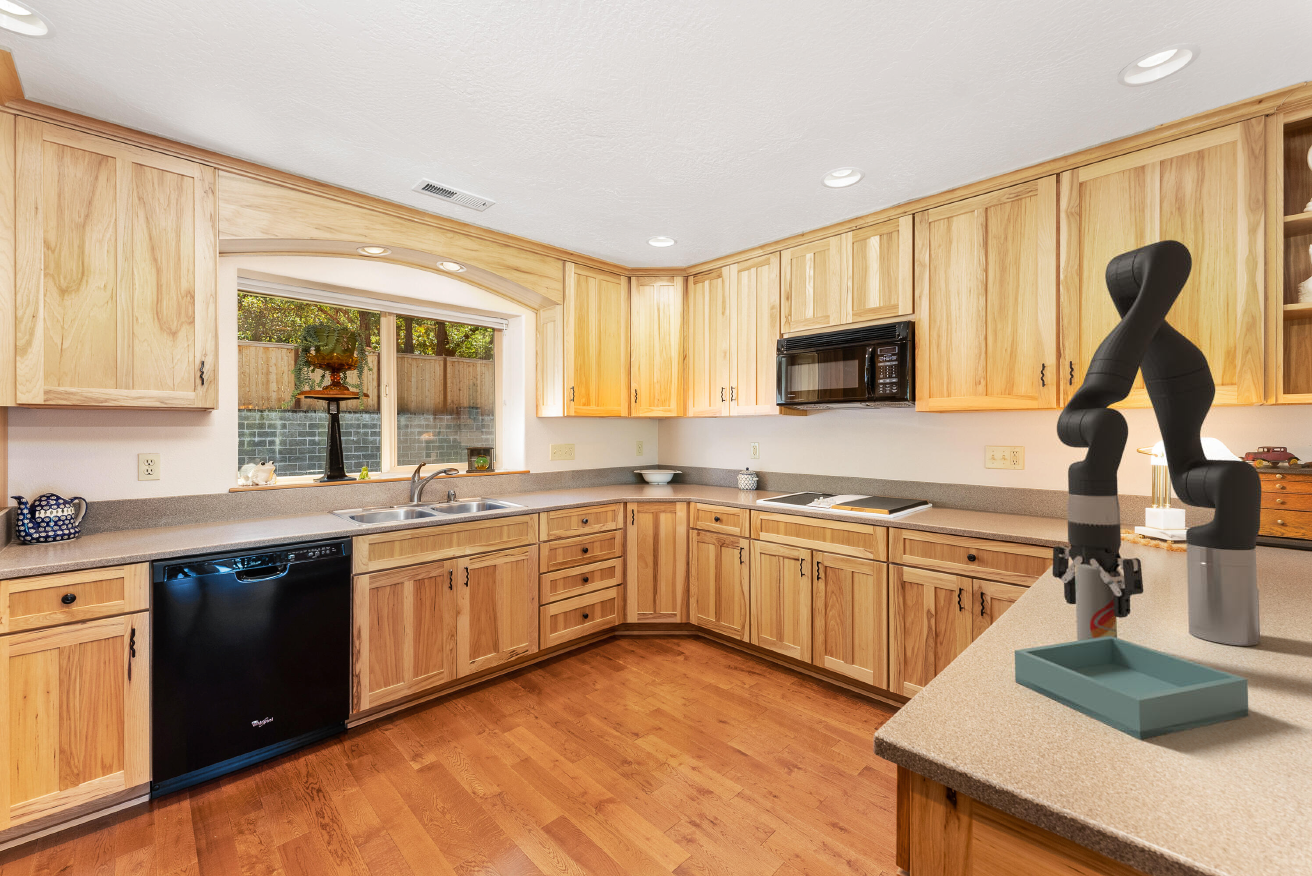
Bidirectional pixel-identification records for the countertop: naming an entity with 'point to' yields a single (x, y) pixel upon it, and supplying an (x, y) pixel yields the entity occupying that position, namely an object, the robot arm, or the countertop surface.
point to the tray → (1132, 685)
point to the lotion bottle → (1093, 600)
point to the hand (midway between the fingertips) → (1095, 609)
